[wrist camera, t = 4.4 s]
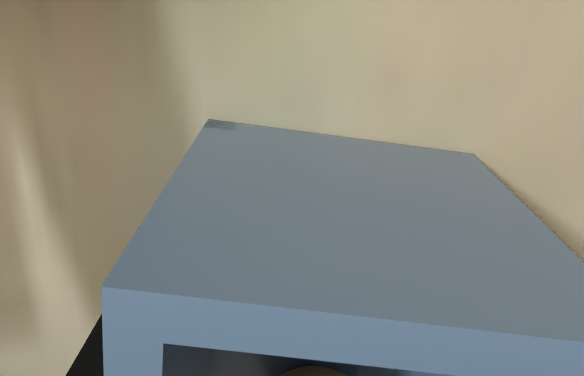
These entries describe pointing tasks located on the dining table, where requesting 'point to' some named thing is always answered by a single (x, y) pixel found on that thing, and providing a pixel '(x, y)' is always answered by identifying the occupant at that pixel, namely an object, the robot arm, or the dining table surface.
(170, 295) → the blue open box
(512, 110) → the dining table surface
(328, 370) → the ball
